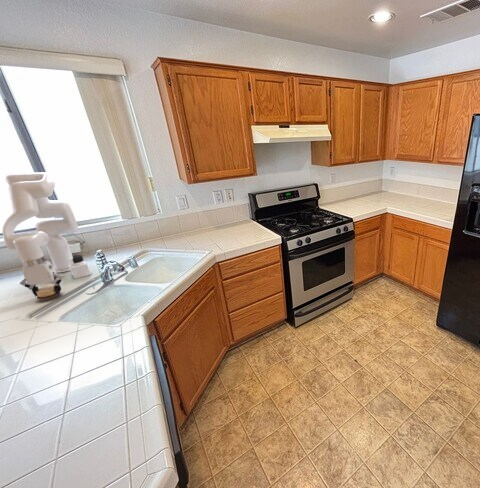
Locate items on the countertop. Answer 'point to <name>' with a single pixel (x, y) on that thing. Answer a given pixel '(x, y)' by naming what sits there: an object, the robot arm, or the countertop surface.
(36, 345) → the countertop surface
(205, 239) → the countertop surface
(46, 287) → the maple chip
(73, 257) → the medicine bottle
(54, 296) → the walnut chip
